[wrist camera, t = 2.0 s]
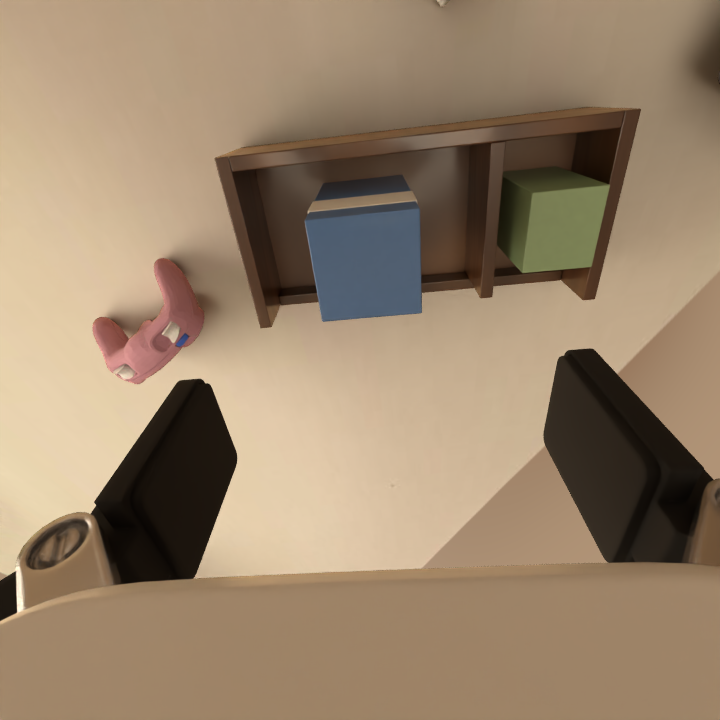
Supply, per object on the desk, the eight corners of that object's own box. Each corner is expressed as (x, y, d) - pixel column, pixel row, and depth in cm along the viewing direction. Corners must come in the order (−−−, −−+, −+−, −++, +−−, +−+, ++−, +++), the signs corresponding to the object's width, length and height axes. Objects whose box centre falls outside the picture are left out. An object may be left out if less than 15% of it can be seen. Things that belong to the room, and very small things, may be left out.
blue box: (333, 261, 30) (321, 322, 22) (322, 182, 27) (303, 219, 19) (406, 254, 30) (422, 314, 22) (403, 173, 27) (421, 207, 18)
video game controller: (142, 339, 37) (138, 403, 33) (89, 318, 33) (79, 387, 30) (211, 278, 34) (217, 341, 30) (161, 247, 30) (160, 314, 26)
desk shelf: (275, 294, 33) (260, 328, 28) (241, 147, 27) (213, 158, 22) (559, 268, 31) (594, 299, 26) (588, 107, 25) (641, 108, 20)
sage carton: (490, 238, 29) (522, 273, 23) (495, 172, 27) (532, 192, 21) (545, 233, 29) (592, 267, 23) (556, 165, 26) (610, 184, 21)
